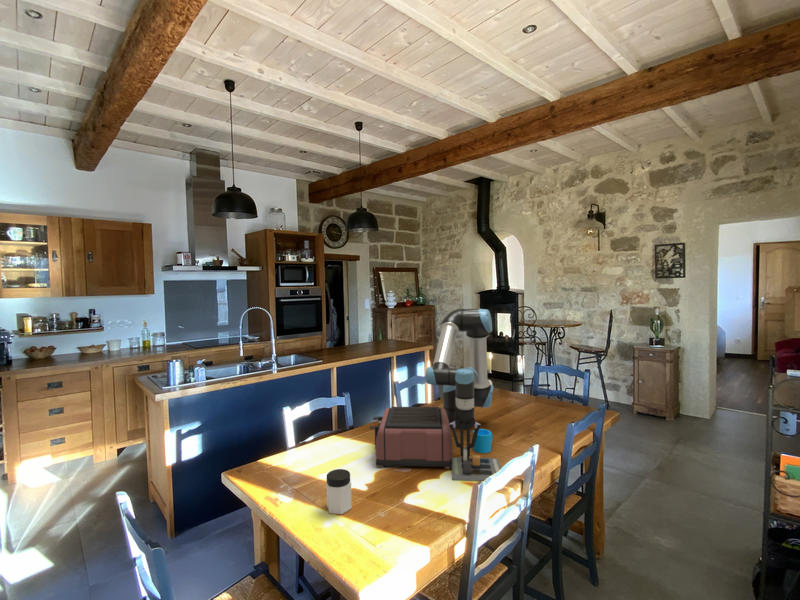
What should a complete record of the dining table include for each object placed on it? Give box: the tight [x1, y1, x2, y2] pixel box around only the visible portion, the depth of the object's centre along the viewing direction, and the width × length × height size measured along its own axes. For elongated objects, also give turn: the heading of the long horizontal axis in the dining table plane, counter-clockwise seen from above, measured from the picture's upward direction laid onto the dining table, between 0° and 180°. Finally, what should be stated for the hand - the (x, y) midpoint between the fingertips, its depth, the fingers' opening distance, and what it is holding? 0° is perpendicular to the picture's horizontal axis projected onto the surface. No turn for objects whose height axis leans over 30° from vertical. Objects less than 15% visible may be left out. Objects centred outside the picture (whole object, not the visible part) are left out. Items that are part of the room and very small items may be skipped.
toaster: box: [368, 406, 453, 470], centre depth 184 cm, size 31×36×18 cm
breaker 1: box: [463, 460, 471, 473], centre depth 162 cm, size 3×3×4 cm
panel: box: [451, 456, 502, 482], centre depth 167 cm, size 16×20×2 cm
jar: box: [325, 468, 353, 515], centre depth 141 cm, size 9×8×12 cm
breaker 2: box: [471, 454, 481, 468], centre depth 167 cm, size 3×3×4 cm
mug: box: [472, 428, 494, 454], centre depth 189 cm, size 12×8×8 cm
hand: (465, 463), depth 167 cm, fingers closed
